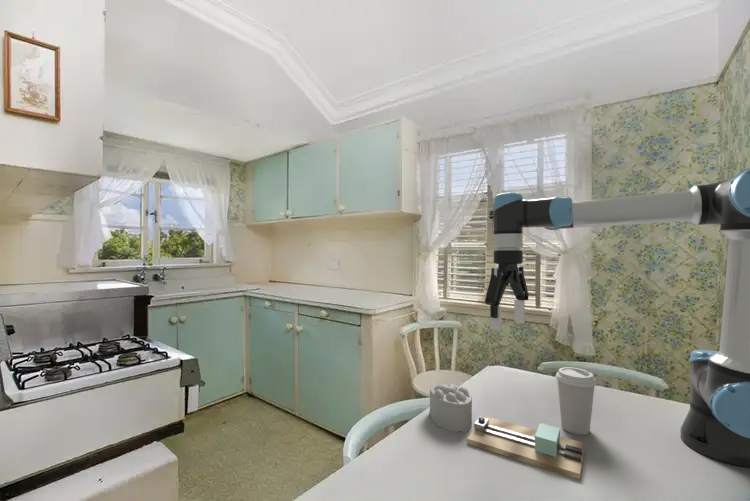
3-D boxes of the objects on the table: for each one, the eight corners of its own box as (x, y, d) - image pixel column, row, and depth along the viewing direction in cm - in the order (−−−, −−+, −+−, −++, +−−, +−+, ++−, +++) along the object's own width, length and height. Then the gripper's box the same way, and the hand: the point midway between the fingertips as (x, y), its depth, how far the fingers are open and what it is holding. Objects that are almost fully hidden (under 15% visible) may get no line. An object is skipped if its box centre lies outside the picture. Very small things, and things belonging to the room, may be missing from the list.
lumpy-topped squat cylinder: (458, 407, 105) (458, 378, 105) (481, 429, 92) (481, 396, 92) (425, 411, 102) (425, 381, 102) (444, 434, 90) (444, 400, 90)
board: (584, 447, 83) (584, 442, 83) (580, 479, 72) (580, 474, 72) (483, 420, 97) (483, 415, 97) (466, 443, 85) (466, 438, 85)
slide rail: (581, 452, 80) (581, 441, 80) (580, 462, 76) (580, 451, 76) (479, 423, 93) (479, 414, 93) (474, 430, 89) (474, 421, 89)
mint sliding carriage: (559, 442, 83) (560, 428, 83) (556, 457, 77) (556, 441, 77) (539, 437, 86) (540, 422, 86) (534, 451, 80) (534, 435, 80)
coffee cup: (603, 440, 87) (603, 380, 87) (561, 435, 89) (561, 377, 89) (587, 421, 96) (588, 367, 96) (550, 418, 98) (550, 365, 98)
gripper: (515, 249, 108) (516, 318, 108) (471, 249, 91) (471, 330, 91) (540, 249, 102) (540, 321, 102) (497, 249, 85) (498, 336, 85)
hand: (508, 326), depth 96 cm, fingers open, 13 cm apart
